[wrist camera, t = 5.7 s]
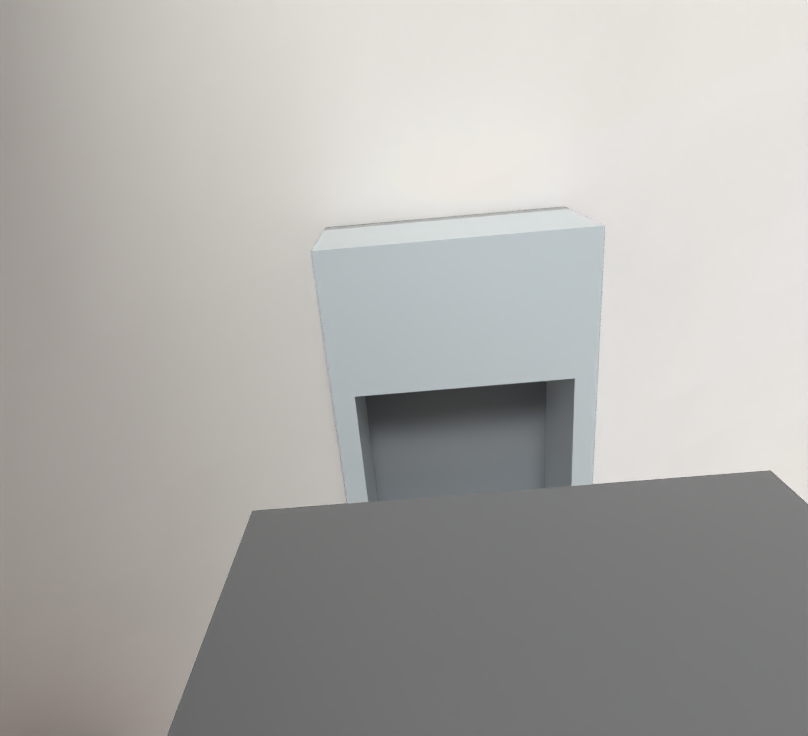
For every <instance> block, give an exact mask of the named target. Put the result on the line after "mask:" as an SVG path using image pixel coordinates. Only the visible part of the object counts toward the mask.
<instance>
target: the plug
mask: <svg viewBox="0 0 808 736" xmlns="http://www.w3.org/2000/svg"><path fill="white" fill-rule="evenodd" d="M167 736H808V504H807V503H806V502H805V501H804V500H803V499H802V498H800V497H799V496H798V495H797V494H796V493H795V492H794V491H793V490H792V489H790V488H789V487H788V486H787V485H786V484H785V483H784V482H783V481H781V480H780V479H779V478H778V477H777V476H776V475H775V474H774V473H773V472H771V471H758V472H745V473H732V474H719V475H706V476H694V477H681V478H668V479H655V480H642V481H630V482H617V483H604V484H591V485H578V486H566V487H553V488H540V489H527V490H514V491H502V492H489V493H476V494H463V495H450V496H438V497H425V498H412V499H399V500H386V501H374V502H361V503H348V504H335V505H322V506H310V507H297V508H284V509H271V510H258V511H252V514H251V516H250V519H249V522H248V524H247V527H246V529H245V532H244V535H243V537H242V540H241V543H240V545H239V548H238V551H237V553H236V556H235V558H234V561H233V564H232V566H231V569H230V572H229V574H228V577H227V580H226V582H225V585H224V587H223V590H222V593H221V595H220V598H219V601H218V603H217V606H216V609H215V611H214V614H213V616H212V619H211V622H210V624H209V627H208V630H207V632H206V635H205V638H204V640H203V643H202V645H201V648H200V651H199V653H198V656H197V659H196V661H195V664H194V667H193V669H192V672H191V674H190V677H189V680H188V682H187V685H186V688H185V690H184V693H183V696H182V698H181V701H180V704H179V706H178V709H177V711H176V714H175V717H174V719H173V722H172V725H171V727H170V730H169V733H168V735H167Z"/></svg>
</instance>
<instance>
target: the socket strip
mask: <svg viewBox="0 0 808 736" xmlns="http://www.w3.org/2000/svg"><path fill="white" fill-rule="evenodd" d="M604 240H605V225H603V224H601V223H599V222H596V221H594V220H592V219H590V218H588V217H586V216H584V215H582V214H579V213H577V212H575V211H573V210H571V209H569V208H567V207H555V208H544V209H532V210H521V211H509V212H498V213H486V214H475V215H464V216H452V217H441V218H429V219H418V220H407V221H395V222H384V223H372V224H361V225H349V226H338V227H327V228H325V230H324V232H323V233H322V235H321V236H320V238H319V239H318V241H317V242H316V244H315V245H314V247H313V248H312V250H311V257H312V264H313V271H314V278H315V285H316V292H317V298H318V305H319V312H320V319H321V326H322V333H323V340H324V347H325V354H326V361H327V368H328V374H329V381H330V388H331V395H332V402H333V409H334V416H335V423H336V430H337V437H338V444H339V451H340V457H341V464H342V471H343V478H344V485H345V492H346V499H347V504H348V503H361V502H374V501H386V500H399V499H412V498H425V497H438V496H450V495H463V494H476V493H489V492H502V491H514V490H527V489H540V488H553V487H566V486H578V485H591V484H593V466H594V445H595V425H596V404H597V384H598V363H599V343H600V322H601V301H602V281H603V260H604Z"/></svg>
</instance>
